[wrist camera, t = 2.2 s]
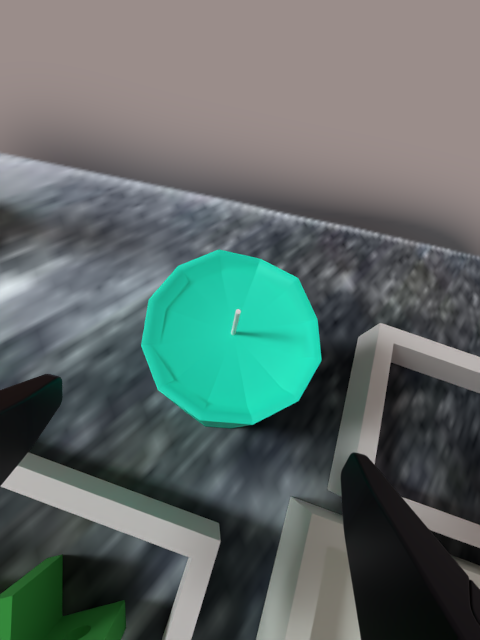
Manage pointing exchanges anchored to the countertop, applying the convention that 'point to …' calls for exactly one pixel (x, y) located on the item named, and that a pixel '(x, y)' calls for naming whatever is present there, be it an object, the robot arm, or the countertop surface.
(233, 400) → the candle
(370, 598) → the robot arm
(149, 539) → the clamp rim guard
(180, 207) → the countertop surface
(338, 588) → the bin
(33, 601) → the pipe clamp
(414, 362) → the grey rectangular frame
